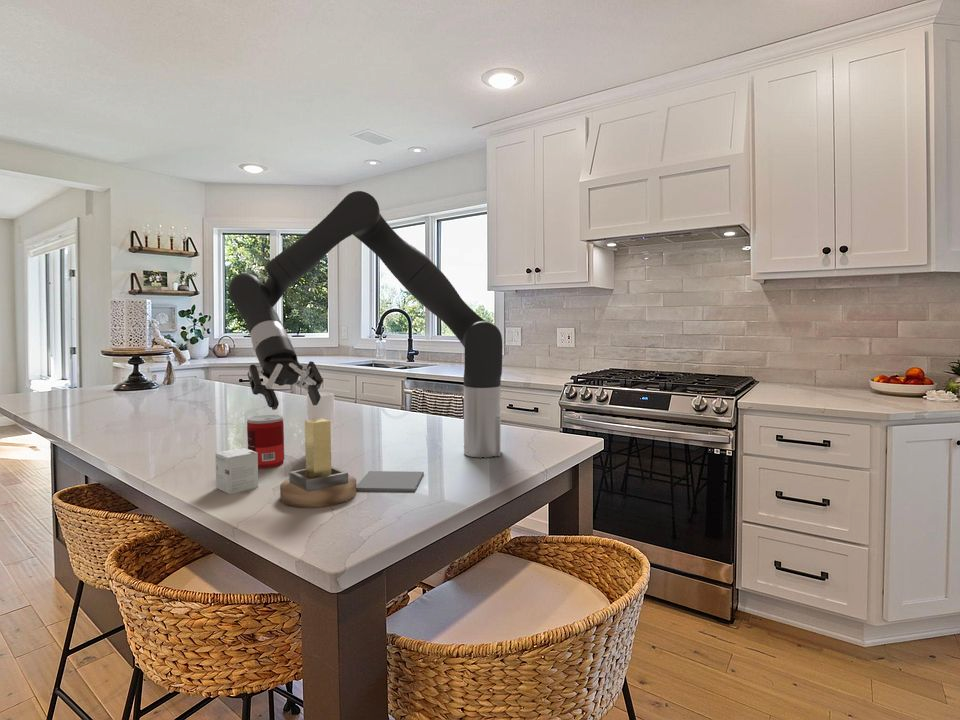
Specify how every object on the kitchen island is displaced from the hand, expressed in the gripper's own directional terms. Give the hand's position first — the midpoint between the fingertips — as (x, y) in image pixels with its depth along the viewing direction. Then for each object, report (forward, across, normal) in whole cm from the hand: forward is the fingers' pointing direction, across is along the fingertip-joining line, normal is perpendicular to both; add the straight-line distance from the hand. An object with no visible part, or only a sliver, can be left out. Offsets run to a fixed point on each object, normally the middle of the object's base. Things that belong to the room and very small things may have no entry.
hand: (296, 405), depth 110 cm
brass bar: (+16, 0, +3) cm, 17 cm away
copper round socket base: (+18, 0, +5) cm, 19 cm away
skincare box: (+7, -10, +16) cm, 20 cm away
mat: (+20, +15, +4) cm, 25 cm away
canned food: (-3, +1, +26) cm, 26 cm away
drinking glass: (-4, +16, +28) cm, 32 cm away
